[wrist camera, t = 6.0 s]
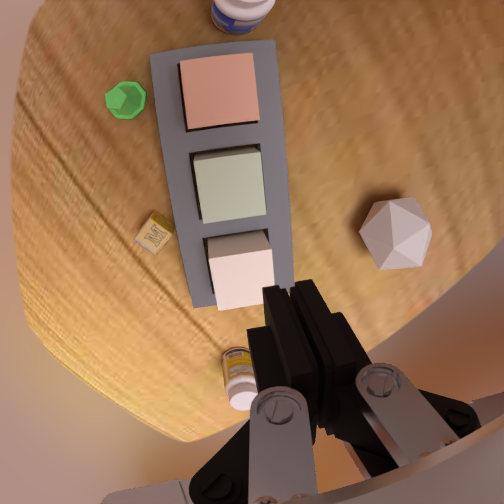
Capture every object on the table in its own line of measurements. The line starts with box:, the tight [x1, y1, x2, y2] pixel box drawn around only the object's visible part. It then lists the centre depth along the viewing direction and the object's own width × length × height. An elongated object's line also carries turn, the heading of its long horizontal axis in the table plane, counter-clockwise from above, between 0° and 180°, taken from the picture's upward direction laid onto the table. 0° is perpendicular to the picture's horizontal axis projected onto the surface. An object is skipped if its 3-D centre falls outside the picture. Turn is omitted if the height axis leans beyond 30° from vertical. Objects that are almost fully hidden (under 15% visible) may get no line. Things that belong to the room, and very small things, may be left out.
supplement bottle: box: [222, 347, 258, 410], centre depth 42 cm, size 5×5×8 cm
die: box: [359, 197, 432, 270], centre depth 36 cm, size 8×9×10 cm
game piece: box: [105, 81, 147, 119], centre depth 26 cm, size 4×4×6 cm
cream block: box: [207, 230, 275, 311], centre depth 34 cm, size 6×6×5 cm
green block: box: [194, 146, 266, 224], centre depth 31 cm, size 6×6×5 cm
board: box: [149, 40, 294, 308], centre depth 33 cm, size 28×12×3 cm, turn 6°
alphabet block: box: [135, 211, 175, 255], centre depth 34 cm, size 3×3×3 cm
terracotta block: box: [180, 53, 260, 129], centre depth 26 cm, size 6×6×5 cm
